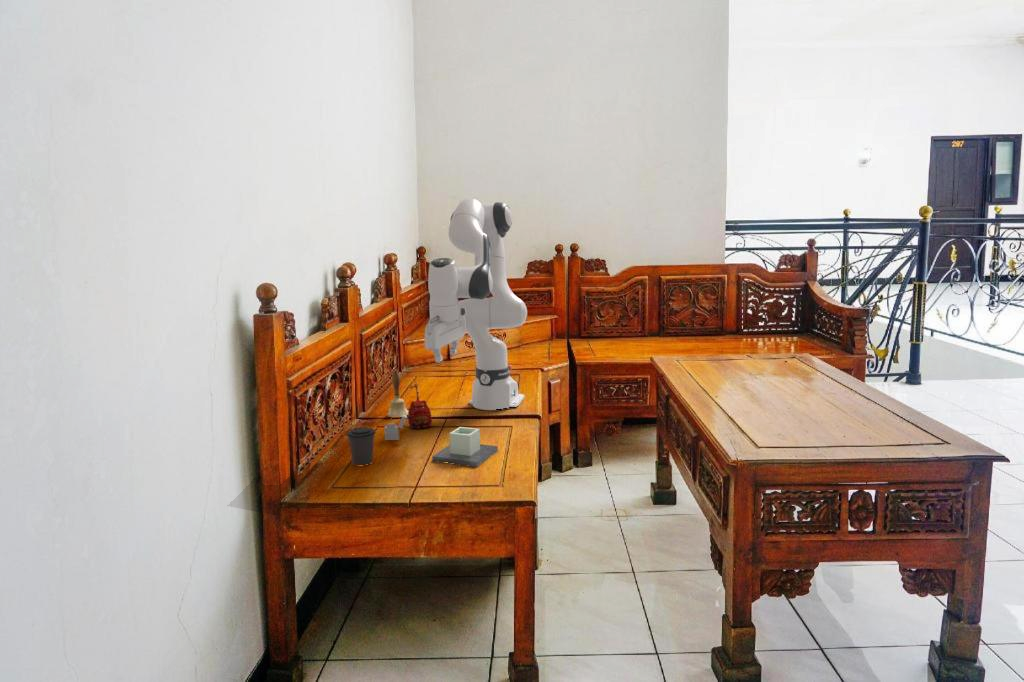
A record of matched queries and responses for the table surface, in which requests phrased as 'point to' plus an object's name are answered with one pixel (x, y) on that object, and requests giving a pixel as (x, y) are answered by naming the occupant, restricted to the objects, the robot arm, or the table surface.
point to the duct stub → (471, 460)
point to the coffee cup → (361, 445)
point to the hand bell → (397, 399)
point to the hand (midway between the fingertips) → (446, 357)
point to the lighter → (394, 429)
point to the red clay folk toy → (419, 413)
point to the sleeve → (464, 441)
